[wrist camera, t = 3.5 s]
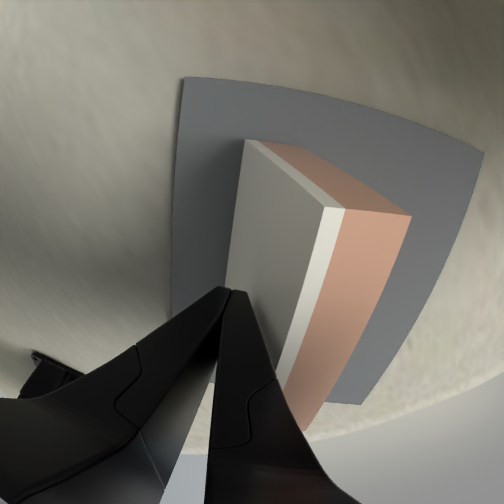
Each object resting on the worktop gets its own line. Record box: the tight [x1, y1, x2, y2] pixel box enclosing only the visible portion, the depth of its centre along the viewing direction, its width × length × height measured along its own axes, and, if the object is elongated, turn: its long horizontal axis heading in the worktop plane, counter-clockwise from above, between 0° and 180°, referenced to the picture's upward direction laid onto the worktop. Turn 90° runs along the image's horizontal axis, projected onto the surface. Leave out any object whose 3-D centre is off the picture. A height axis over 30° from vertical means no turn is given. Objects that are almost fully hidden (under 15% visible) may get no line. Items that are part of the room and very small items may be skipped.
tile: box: [225, 139, 412, 431], centre depth 9 cm, size 8×2×6 cm, turn 171°
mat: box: [171, 77, 484, 405], centre depth 13 cm, size 16×12×1 cm
